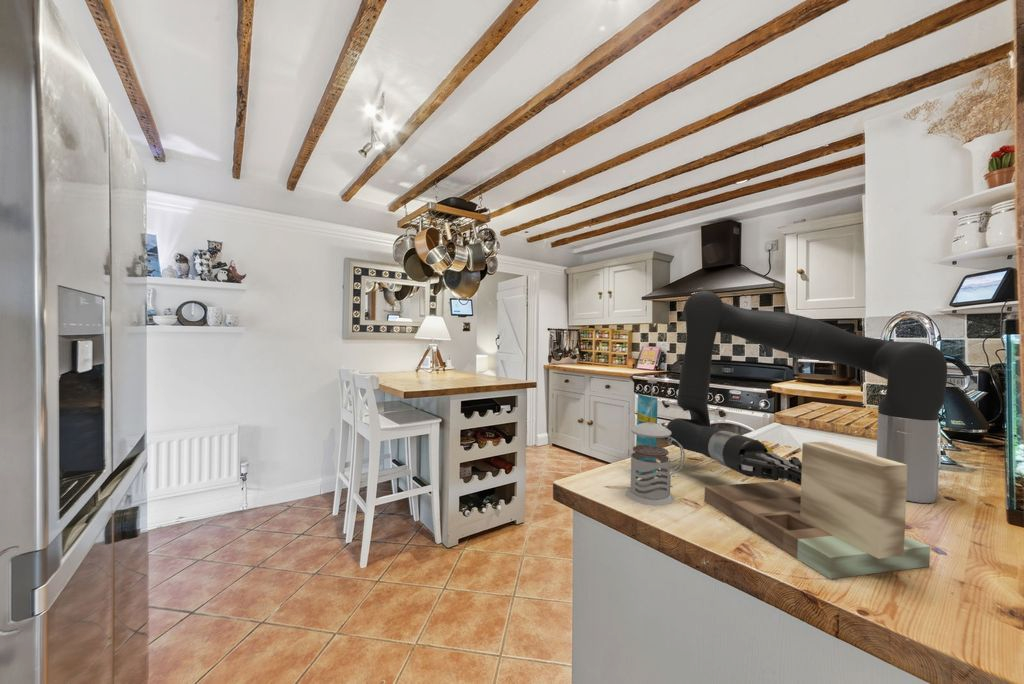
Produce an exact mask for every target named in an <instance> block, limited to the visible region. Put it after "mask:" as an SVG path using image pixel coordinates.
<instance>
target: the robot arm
mask: <svg viewBox="0 0 1024 684" xmlns="http://www.w3.org/2000/svg"><path fill="white" fill-rule="evenodd" d="M682 317H683V319H684V321H685V325H686V326H685V329H686V339H685V351H684V354H683V355H684V356H683V361H682V365H681V371H680V375H679V382H678V383H679V384H678V392H677V401H676V402H677V406H678V407H679V408H681V409H684V410H686V411H688V412H689V415H690V419H689V418H680V417H677V418H673V419H671V420H670V421H669V422H668V423H667V425H666V426H665V427H666V428H667V429H668V430H670V431H671V433H672V434H671V436H669V437H672V438H673V439H675V440H676V441H677V442H679V443H680V444H681V445H682V447H683V449H684V450H686V451H690V452H695V453H698V454H700V455H703V456H705V457H707V458H709V459H712V460H714V461H715V462H717V463H718V464H720V465H722V466H724V467H726V468H728V469H731V470H732V471H735V472H737V473H739V474H741V475H743V476H745V477H759V478H763V479H766V480H767V479H768V480H771V481H774V482H777V481H780V480H781V481H784V482H792V483H793V484H796V485H798V486H801V476H802V460H800V458H799V457H796V456H791V457H789V458H788V459H787V458H783V457H781V456H780V455H778V454H777V453H774V452H773V453H772V452H768V450H767V449H766V447H765V446H764V444H765V443H764V444H762V443H763V442H761V441H760V440H757V439H754V438H751V437H748V436H745V435H743V434H739V433H735V432H731V431H727V430H723V429H720V428H717V427H714V426H711V420H710V414H709V408H708V399H709V393H710V392H709V391H710V383H711V372H712V371H711V369H712V360H713V359H712V357H713V353H714V352H713V350H714V346H715V340H716V336H717V333H720V334H725V335H729V336H734V337H738V338H741V339H743V340H747V341H749V342H752V343H753V344H754V343H755V344H758V345H760V346H764V347H766V348H769V349H773V350H775V351H779V352H783V353H786V354H789V355H794V356H797V357H802V358H807V359H811V360H816V361H823V362H829V363H830V362H831V363H837V364H840V365H841V364H842V365H845V366H849V367H852V368H855V369H858V370H861V371H865V372H867V373H870V374H872V375H875V376H878V377H880V378H883V379H885V380H887V381H886V383H887V384H886V392H885V395H884V397H883V398H882V399H880V400H879V401H878V405H877V406H878V408H877V431H876V432H877V435H876V437H877V438H876V456H878V457H881V458H885V459H888V460H892V461H895V462H899V463H903V464H906V465H907V486H906V502H914V503H923V504H930V503H932V504H933V503H935V502H936V500H937V499H938V498H939V497H938V495H939V493H938V492H939V476H940V475H939V471H940V470H939V469H940V455H939V454H938V444H939V443H938V440H939V439H938V438H939V434H938V433H939V418H940V417H939V414H940V411H941V410H942V408H943V406H944V405H945V399H946V391H947V383H948V382H947V381H948V379H947V378H948V363H947V359H946V356H945V355H944V353H943V352H942V351H941V350H940V349H939V348H938V347H936V346H934V345H932V344H929V343H925V342H919V341H893V340H885V339H879V338H874V337H868V336H864V335H863V336H862V335H858V334H856V333H852V332H849V331H846V330H845V329H843V328H840V327H838V326H835V325H832V324H830V323H827V322H825V321H821V320H818V319H815V318H812V317H811V318H810V317H808V316H803V315H799V314H794V313H789V312H783V311H772V310H761V309H760V310H758V309H749V308H744V307H739V306H736V305H732V304H729V303H726V302H724V301H723V300H722V299H721V297H720V296H719V295H718V294H717V293H714V292H712V291H709V290H701V291H698V292H695V293H693V294H692V295H690V296H689V297H688V298H687V299H686V301H685V303H684V305H683V309H682ZM669 437H666V438H667V439H668V438H669ZM670 440H671V438H670V439H669V442H670ZM677 442H675V441H672V442H671V445H674V447H677V448H679V449H680V447H681V446H680V447H679V445H678V444H677Z"/></svg>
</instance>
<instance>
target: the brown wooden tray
mask: <svg viewBox="0 0 1024 684" xmlns="http://www.w3.org/2000/svg"><path fill="white" fill-rule="evenodd" d="M704 502H706V503H707V504H709V505H710V506H712V507H714V508H715V509H716V510H718V511H720V512H722V513H723V514H725V515H727V516H728V517H730V518H732V519H733V520H734V521H736V522H738V523H740V524H741V525H743V526H744V527H746V528H747V529H749V530H751V531H752V532H754V533H755V534H756V535H758V536H760V537H762V538H763V539H765V540H766V541H768V542H770V543H771V544H773V545H774V546H776V547H778V548H779V549H781V550H783V551H784V552H786V553H788V554H789V555H790V556H792V557H794V558H796V560H798V561H801V562H802V563H803V564H805V565H807V566H808V567H810V568H812V569H813V570H814V571H816V572H818V573H819V574H821V575H822V576H824V577H826V578H827V579H829V580H831V579H832V580H833V579H839V578H840V579H841V578H848V577H857V576H864V575H873V574H880V573H886V572H887V573H888V572H895V571H903V570H904V571H905V570H912V569H918V568H926V567H927V568H928V567H930V561H931V559H930V558H931V556H930V555H931V546H930V545H928V544H925V543H923V542H920V541H918V540H917V539H915V538H911V537H909V536H907V535H905V538H904V556H898V557H889V558H881V559H878V558H876V557H874V556H872V555H870V554H868V553H866V552H864V551H862V550H860V549H858V548H856V547H854V546H852V545H850V544H848V543H847V542H845V541H843V540H841V539H839V538H837V537H835V536H833V535H831V534H829V533H827V532H825V531H823V530H821V529H819V528H817V527H815V526H813V525H811V524H809V523H807V522H805V521H804V520H802V519H800V507H801V489H798V488H796V487H793V486H791V485H789V484H786V483H784V482H782V481H780V480H777V481H766V482H764V481H763V482H750V483H737V484H736V483H735V484H734V483H733V484H722V485H720V484H719V485H706V486H704Z"/></svg>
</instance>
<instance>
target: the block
mask: <svg viewBox="0 0 1024 684" xmlns="http://www.w3.org/2000/svg"><path fill="white" fill-rule="evenodd" d="M801 447H802V448H801V449H802V450H801V463H802V476H801V485H800V491H801V507H800V519H802V520H804V521H805V522H807V523H809V524H811V525H813V526H815V527H817V528H819V529H821V530H823V531H825V532H827V533H829V534H831V535H833V536H835V537H837V538H839V539H841V540H843V541H845V542H847V543H848V544H850V545H852V546H854V547H856V548H858V549H860V550H862V551H864V552H866V553H868V554H870V555H872V556H874V557H876V558H878V559H881V558H889V557H898V556H904V538H905V536H906V535H905V532H906V512H907V511H906V506H907V505H906V504H907V500H906V486H907V465H906V464H903V463H899V462H895V461H892V460H888V459H885V458H881V457H878V456H877V455H874V454H871V453H868V452H863V451H860V450H856V449H852V448H849V447H844V446H841V445H838V444H834V443H831V442H828V441H810V442H807V441H805V442H802V446H801Z"/></svg>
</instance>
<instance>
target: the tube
mask: <svg viewBox="0 0 1024 684" xmlns="http://www.w3.org/2000/svg"><path fill="white" fill-rule="evenodd" d="M651 398H652V422H653V423H656V424H658V397H654V396H649V395H644V394H640V393H637V412H636V413H637V414H636V417H637V418H636V425H638V424H641V423H649V422H651ZM635 441H636V444H635V446H638V445H648V446H649V445H650V437H644V436H639V435H636V440H635ZM657 443H658V438H651V446H652V445H653V446H656V447H658V444H657ZM644 460H654V461H656V462H657V460H658V459H656V458H653V457H644V458H643V459H641V460H640V461H644ZM651 471H652V472H657V471H656V470H651ZM641 473H643V472H638V474H641ZM646 475H648V474H646ZM652 478H655V476H652Z"/></svg>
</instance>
